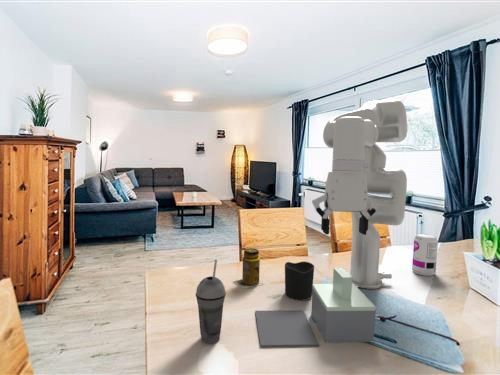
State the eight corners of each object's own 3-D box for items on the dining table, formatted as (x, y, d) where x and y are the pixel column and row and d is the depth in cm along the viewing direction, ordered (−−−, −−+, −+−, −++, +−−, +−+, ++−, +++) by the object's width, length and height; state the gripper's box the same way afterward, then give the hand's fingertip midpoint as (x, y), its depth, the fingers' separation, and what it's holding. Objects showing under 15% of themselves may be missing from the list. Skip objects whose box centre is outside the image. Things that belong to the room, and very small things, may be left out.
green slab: (353, 292, 92) (354, 263, 91) (375, 316, 78) (376, 282, 77) (312, 292, 91) (313, 263, 90) (326, 317, 77) (328, 283, 76)
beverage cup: (196, 331, 82) (196, 255, 80) (225, 330, 82) (226, 254, 81) (194, 348, 75) (194, 265, 73) (225, 347, 75) (226, 264, 73)
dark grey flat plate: (303, 311, 93) (303, 310, 93) (319, 346, 76) (319, 344, 76) (255, 312, 92) (255, 310, 92) (260, 347, 75) (260, 345, 75)
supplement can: (413, 274, 125) (415, 237, 124) (411, 267, 133) (413, 232, 131) (436, 277, 122) (439, 239, 120) (433, 270, 130) (436, 234, 128)
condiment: (264, 284, 113) (264, 251, 112) (243, 289, 108) (244, 254, 107) (252, 277, 119) (253, 246, 118) (233, 282, 114) (233, 249, 113)
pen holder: (306, 304, 98) (307, 272, 97) (279, 296, 103) (279, 266, 102) (317, 293, 106) (318, 264, 105) (291, 286, 111) (292, 258, 110)
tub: (352, 313, 93) (353, 287, 92) (373, 341, 79) (375, 310, 78) (311, 314, 92) (312, 287, 91) (325, 342, 78) (326, 311, 77)
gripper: (374, 167, 85) (370, 230, 87) (310, 166, 84) (307, 229, 86) (387, 168, 78) (383, 237, 79) (317, 166, 77) (314, 236, 78)
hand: (344, 233), depth 83 cm, fingers open, 9 cm apart
